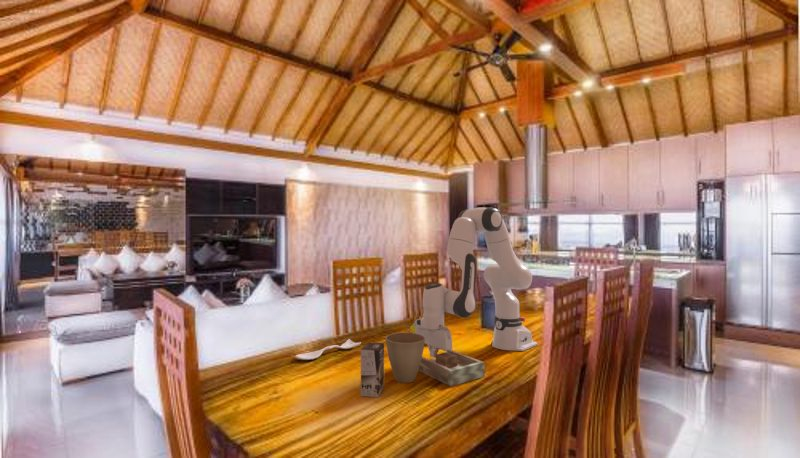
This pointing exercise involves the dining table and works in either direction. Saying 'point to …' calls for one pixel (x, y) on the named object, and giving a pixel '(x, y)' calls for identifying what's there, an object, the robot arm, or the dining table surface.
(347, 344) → the white plastic spork
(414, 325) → the decorative bird
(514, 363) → the dining table surface
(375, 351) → the coffee box
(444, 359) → the walnut block
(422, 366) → the tray
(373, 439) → the dining table surface
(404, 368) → the plant pot
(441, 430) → the dining table surface
